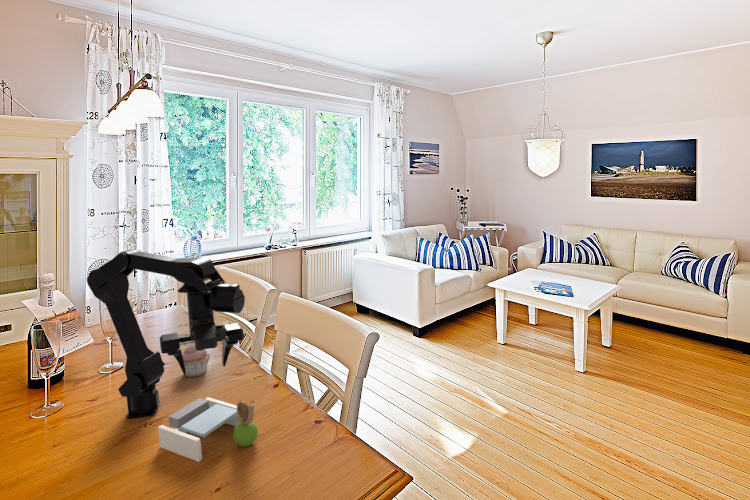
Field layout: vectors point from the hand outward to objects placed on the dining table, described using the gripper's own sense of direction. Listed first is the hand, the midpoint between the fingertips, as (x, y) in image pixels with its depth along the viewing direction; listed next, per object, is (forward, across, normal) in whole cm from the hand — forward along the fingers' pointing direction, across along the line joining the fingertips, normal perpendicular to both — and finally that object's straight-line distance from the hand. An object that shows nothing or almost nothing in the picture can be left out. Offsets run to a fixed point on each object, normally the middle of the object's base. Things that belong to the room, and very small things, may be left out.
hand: (204, 369), depth 108 cm
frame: (+13, -2, -8) cm, 15 cm away
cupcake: (+14, +1, +28) cm, 31 cm away
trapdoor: (+9, -2, -8) cm, 12 cm away
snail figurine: (+13, +6, -17) cm, 22 cm away
